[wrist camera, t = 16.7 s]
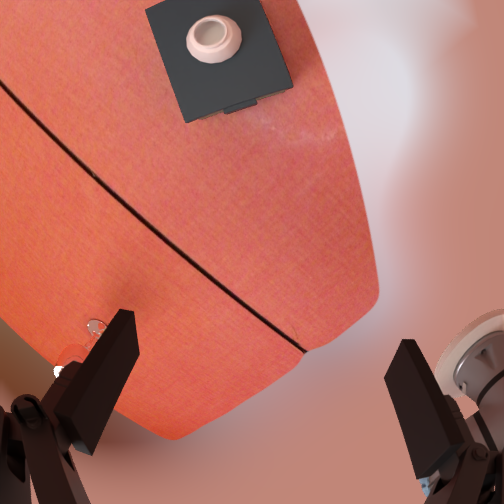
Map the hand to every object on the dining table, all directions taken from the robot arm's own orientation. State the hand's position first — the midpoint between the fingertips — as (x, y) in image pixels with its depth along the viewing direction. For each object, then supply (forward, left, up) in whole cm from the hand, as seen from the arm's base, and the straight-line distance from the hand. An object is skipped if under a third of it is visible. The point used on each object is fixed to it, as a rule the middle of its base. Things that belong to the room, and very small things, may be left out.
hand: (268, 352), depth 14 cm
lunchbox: (+7, -18, -25) cm, 32 cm away
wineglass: (+26, +23, -25) cm, 43 cm away
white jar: (+7, -18, -18) cm, 26 cm away
